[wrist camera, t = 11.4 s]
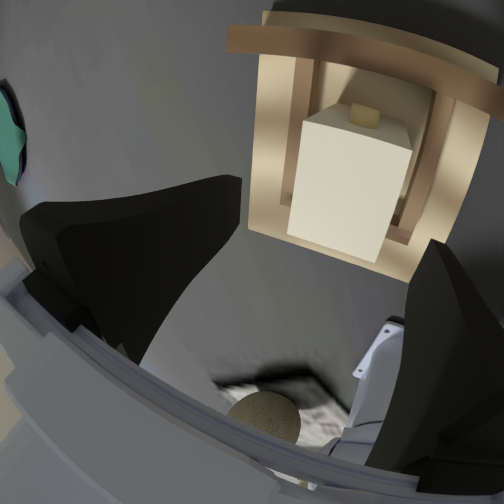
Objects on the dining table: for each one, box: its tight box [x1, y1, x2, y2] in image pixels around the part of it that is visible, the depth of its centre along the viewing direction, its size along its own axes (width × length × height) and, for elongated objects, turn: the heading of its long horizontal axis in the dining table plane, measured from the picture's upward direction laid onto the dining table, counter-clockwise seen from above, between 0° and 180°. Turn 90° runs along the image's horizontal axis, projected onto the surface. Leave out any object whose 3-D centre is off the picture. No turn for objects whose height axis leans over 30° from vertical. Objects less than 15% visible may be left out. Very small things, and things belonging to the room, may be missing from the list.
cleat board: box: [226, 11, 504, 283], centre depth 15 cm, size 16×14×5 cm
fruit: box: [227, 391, 301, 444], centre depth 34 cm, size 10×12×15 cm
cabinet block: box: [287, 103, 412, 263], centre depth 13 cm, size 6×4×7 cm
